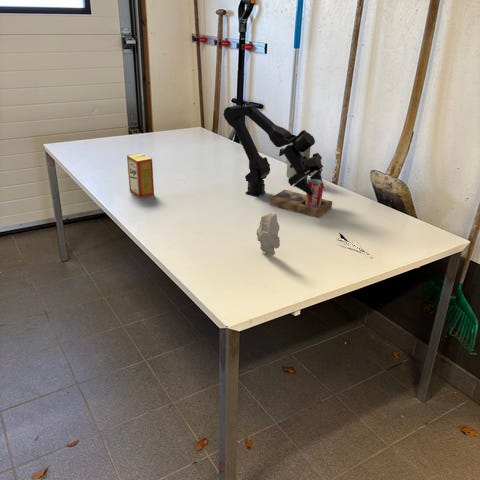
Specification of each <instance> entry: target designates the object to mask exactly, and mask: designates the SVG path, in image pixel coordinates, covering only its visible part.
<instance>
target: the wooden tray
mask: <svg viewBox="0 0 480 480" xmlns="http://www.w3.org/2000/svg"><path fill="white" fill-rule="evenodd" d="M305 203H306V194H303V193H299V192H297V191H290V190H287V189H283V190H281V191H279V192H278V193H276V194H275V195H273V196H271V197H270V198H269V205H270V206H271V207H272V206H274V207H277V208H280V209H284V210H288V211H292V212H296V213H299V214H303V215H306V216H310V217H314V218H317V219H320V218H321V217H323V216H324V215H325V214H326V213H327V212H329V211H330V210H331V209H332V208H333V207H332V206H333V201H332V200H328V199H323V198H322V201H321V207H320V208H315V207H311V206H308V205H305Z"/></svg>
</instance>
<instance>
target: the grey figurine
mask: <svg viewBox="0 0 480 480" xmlns="http://www.w3.org/2000/svg"><path fill="white" fill-rule="evenodd" d="M279 231H280V224H279V222H278V216H277V214H276V213H271V212H270V213H269V214H267V215H263V216H261V218H260V222H259V226H258V228H257V229H256V237H257V238H256V239H257V241H258V242H259V243H260V248H259V249H260V250H261V251H262V252H263V253H265V254H266V255H270V256H275V254H276V251H275V249H278V248H280V246H281V240H280V237H279V236H278V235H279Z"/></svg>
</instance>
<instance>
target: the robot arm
mask: <svg viewBox="0 0 480 480" xmlns="http://www.w3.org/2000/svg"><path fill="white" fill-rule="evenodd" d="M246 116H247V118H249V119H250V120H251V121H253V122H254V124H256V126H258V127H259V128H261V129H262V130H263V131H264V132H265V134H267V136H268V138H269V140H270V142H271V143H272V144H273V145H274V146H275V147H276V148H279V154H278V157H282V156H284V157H285V158H286V159H287V161H289V163H290V164H291V165H290V168H293V169H294V170H295V172H296V174H294V175H293V176H292V177H290V178H288V180H287V182H288V184H289V186H290V187H293V188H297V189H298V190H300V191H303V192H304V193H307V194H309V195H311V196H312V195H313V192H312V190H311V188H310V187H309V185H308V179H307V177H305V176H307V175H308V177H309V180H310V179H319V180H322V181H323V178H322V172H323V168H324V166H323V164H322V159H323V157H322V156H321V154H320V153H319V152H316V153H313V154H312V156H310V158H307V157H306V156H304V157H303V156H302V154H301V153H300V152H302V153H303V152H305V151H306V150H307V149H309V148H310V147H311V148H312V146H314V145H315V143H316V140H315V137H314V136H313V135H312V134H310V133H309V132H307V131H306V129H303V130H301V131H300V132H299V133H298V134H297V135H295V134H293V133H291V132H290V131H289V130H288V129H286V128H284V127H282V126H280V125H278V124H276V123H274V122H273V121H272V120H271V119H270V118H268V117H267V116H266V115H265V114H264V113H263V112H262V111H261V110H259V109H258V107H256V105H255V104H247V105H244V106H241V105H239V104H235V105H232V106H231V105H230V106H228V107H225V109H224V111H223V118H224V119H225V121H226V123H227V124H228V125H229V126H230V127H231V128H233V130H234V131H235V134H236V135H237V137H238V139H239V141H240V144H241V146H242V149H243V150H244V153H245V154H246V157H247V158H248V159H247V160H248V169H249V172H248V173H247V174H246V175H245V176H244V177H245V181H246V182H247V191H246V192H245V194H246V195H250V196H253V197H260V196H262V195H264V194H265V193H266V191H265V189H266V186H265V185H266V184H265V179H267V176H268V175H270V173H271V172H270V171H271V164H270V162H269V161H268V158H267V157H266V156H265V157H263V156H261V155H260V153H259V150H258V149H257V146H256V145H255V143H254V140H253V138H252V136H251V133H250V132H249V129H248V127H247V125H246ZM291 143H293V144H292V145H289V144H291ZM284 146H285V147H284ZM311 148H310V149H311ZM304 177H305V178H304ZM322 183H323V190H324V189H325V186H324V182H322Z"/></svg>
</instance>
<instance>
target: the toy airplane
mask: <svg viewBox="0 0 480 480" xmlns="http://www.w3.org/2000/svg"><path fill="white" fill-rule="evenodd" d="M338 234H339V236H340V237H339V239H342V240H343V241H342V242H344V241H345V242H346V243H345V242H344V243H345V244H347V243H348V244H350V245H352V246H353V247H355V248H357V249H359V250H360V251H362V252H364V253H366V254H367V255H370V254H369V253H367V251H365V250H364V249H363V248H362V249H360V248H358V247H356V246H355V245H353V244H352V242H350V241H349V240H348V239H347V238H346V237H345V236H344V235H343V234H342V233H340V232H339V233H338ZM348 244H347V245H348Z"/></svg>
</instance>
